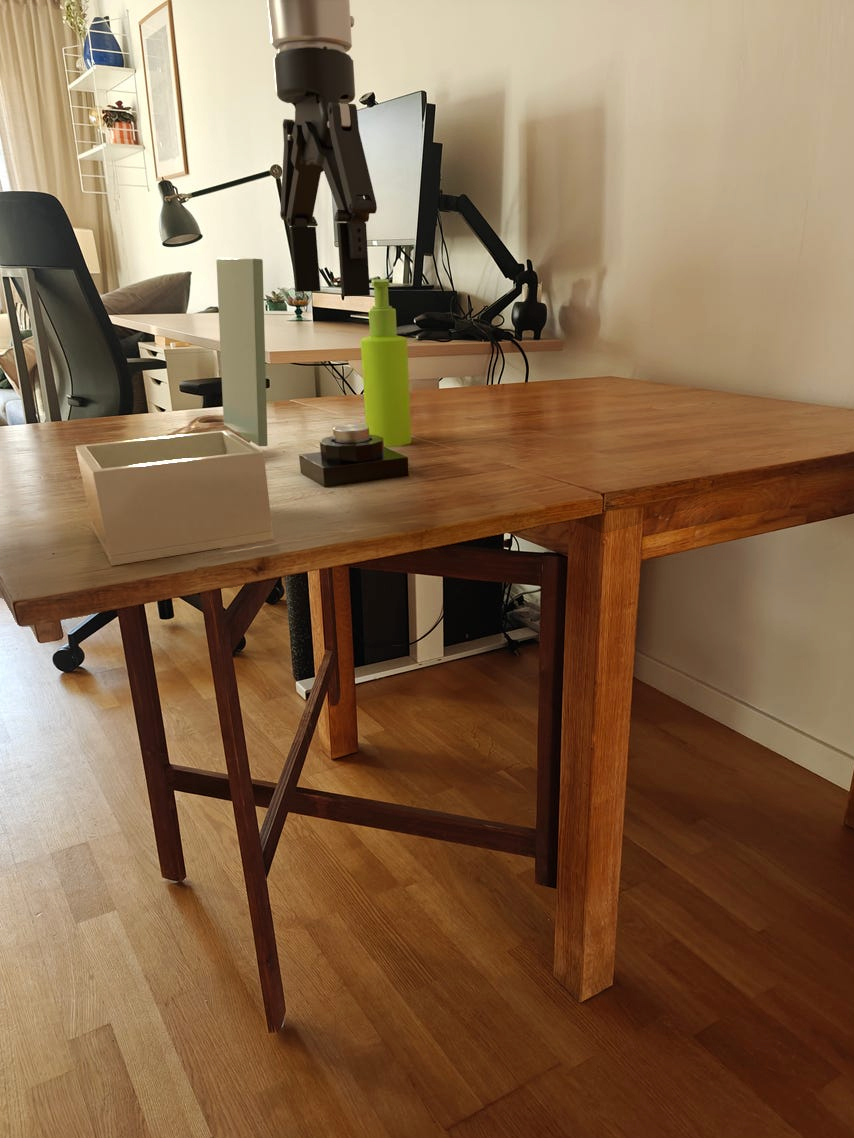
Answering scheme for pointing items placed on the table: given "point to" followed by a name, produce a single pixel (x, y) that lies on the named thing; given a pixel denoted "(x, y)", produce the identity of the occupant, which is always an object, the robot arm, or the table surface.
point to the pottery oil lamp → (205, 426)
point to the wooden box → (175, 495)
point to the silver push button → (351, 434)
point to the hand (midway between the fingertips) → (330, 294)
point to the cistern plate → (352, 463)
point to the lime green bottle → (386, 373)
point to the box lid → (243, 346)
